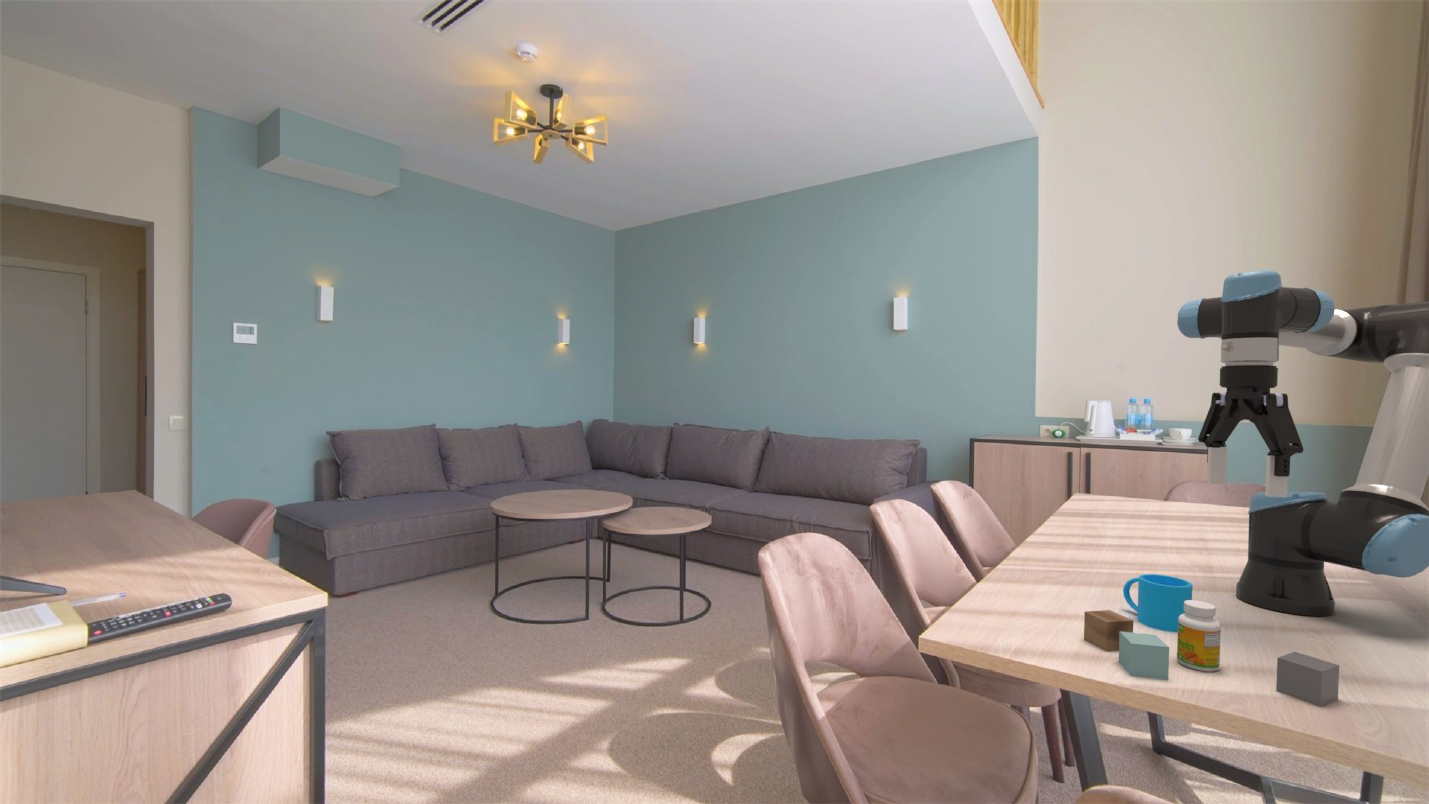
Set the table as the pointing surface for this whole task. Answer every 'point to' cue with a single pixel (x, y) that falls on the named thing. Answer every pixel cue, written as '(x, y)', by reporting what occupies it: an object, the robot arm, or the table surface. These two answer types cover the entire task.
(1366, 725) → the table surface
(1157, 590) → the mug
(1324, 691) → the charcoal cube
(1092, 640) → the walnut cube
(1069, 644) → the table surface
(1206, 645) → the supplement bottle
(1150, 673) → the teal cube
